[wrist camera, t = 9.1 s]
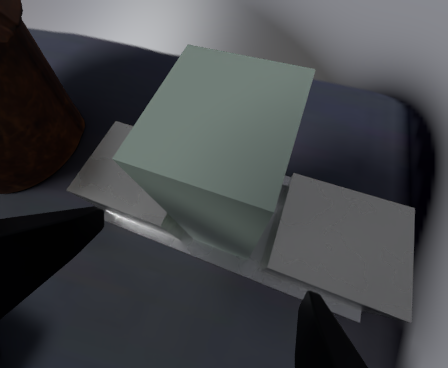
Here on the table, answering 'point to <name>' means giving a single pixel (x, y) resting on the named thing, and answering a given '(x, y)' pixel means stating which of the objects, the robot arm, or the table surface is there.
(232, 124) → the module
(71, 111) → the brown flower pot
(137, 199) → the rail
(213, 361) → the table surface
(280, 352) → the table surface
